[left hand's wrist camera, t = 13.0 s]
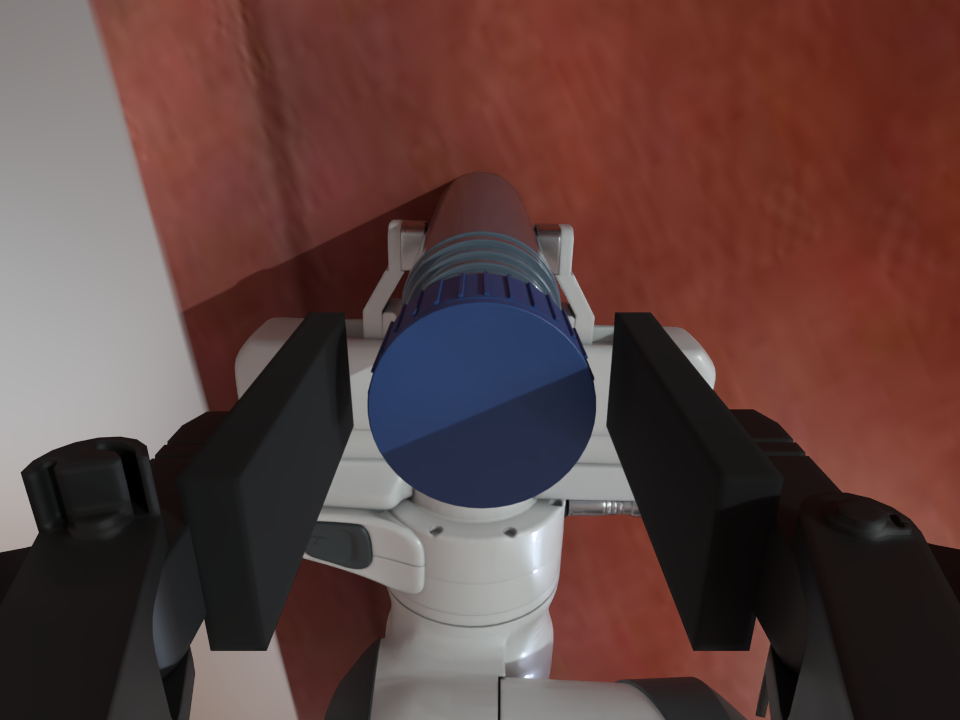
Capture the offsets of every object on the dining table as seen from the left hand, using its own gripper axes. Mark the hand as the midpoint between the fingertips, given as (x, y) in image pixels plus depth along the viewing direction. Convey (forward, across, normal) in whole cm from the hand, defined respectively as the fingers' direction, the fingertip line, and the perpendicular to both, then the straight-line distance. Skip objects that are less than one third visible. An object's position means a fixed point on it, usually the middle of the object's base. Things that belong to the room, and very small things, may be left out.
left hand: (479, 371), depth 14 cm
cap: (-2, 0, 0) cm, 2 cm away
